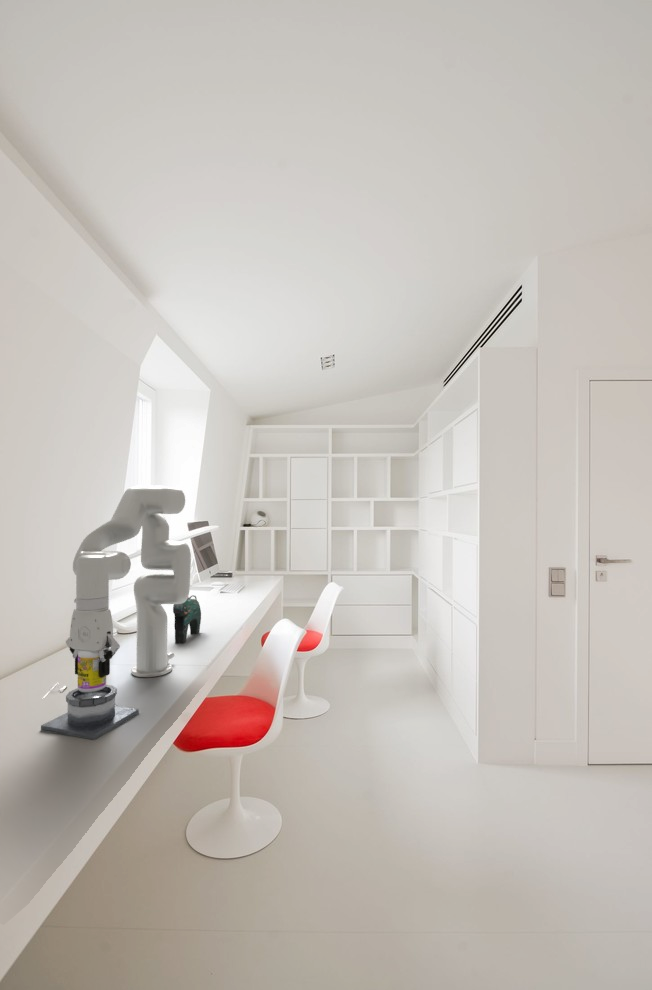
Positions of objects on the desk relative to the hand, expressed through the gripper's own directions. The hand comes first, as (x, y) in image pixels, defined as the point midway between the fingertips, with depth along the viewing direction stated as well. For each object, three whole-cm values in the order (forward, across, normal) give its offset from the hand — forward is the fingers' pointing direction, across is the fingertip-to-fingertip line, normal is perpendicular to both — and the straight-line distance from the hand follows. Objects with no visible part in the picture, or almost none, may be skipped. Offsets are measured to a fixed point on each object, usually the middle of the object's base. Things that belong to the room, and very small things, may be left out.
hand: (92, 673), depth 134 cm
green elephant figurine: (+13, -23, +78) cm, 82 cm away
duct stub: (+12, 0, 0) cm, 12 cm away
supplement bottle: (+4, 0, 0) cm, 4 cm away
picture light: (+13, -26, +14) cm, 32 cm away
